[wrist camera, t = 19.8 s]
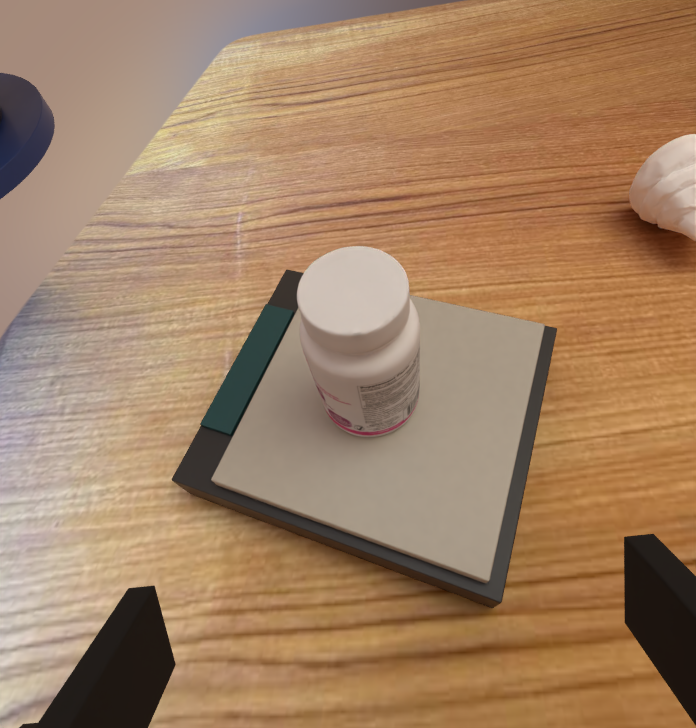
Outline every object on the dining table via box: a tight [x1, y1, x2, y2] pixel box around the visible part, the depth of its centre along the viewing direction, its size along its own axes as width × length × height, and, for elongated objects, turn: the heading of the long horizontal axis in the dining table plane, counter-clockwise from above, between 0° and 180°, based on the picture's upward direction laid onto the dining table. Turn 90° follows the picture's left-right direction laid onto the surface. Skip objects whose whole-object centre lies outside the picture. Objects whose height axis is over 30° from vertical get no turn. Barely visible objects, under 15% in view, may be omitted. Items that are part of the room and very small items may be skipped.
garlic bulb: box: [629, 134, 696, 241], centre depth 29 cm, size 6×6×5 cm
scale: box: [172, 270, 557, 608], centre depth 26 cm, size 16×14×3 cm
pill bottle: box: [297, 246, 420, 437], centre depth 21 cm, size 5×5×8 cm
